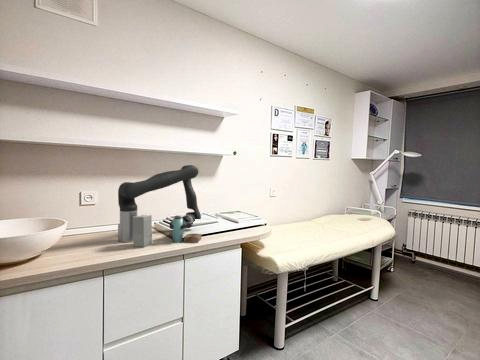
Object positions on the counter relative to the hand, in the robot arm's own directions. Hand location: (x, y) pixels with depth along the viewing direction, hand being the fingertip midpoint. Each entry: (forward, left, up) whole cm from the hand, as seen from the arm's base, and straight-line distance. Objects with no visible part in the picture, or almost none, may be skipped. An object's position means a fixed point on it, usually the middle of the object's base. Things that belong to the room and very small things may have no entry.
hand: (176, 227), depth 141 cm
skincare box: (-16, -7, -9) cm, 20 cm away
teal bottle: (0, +3, -9) cm, 9 cm away
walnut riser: (+8, +6, -9) cm, 13 cm away
